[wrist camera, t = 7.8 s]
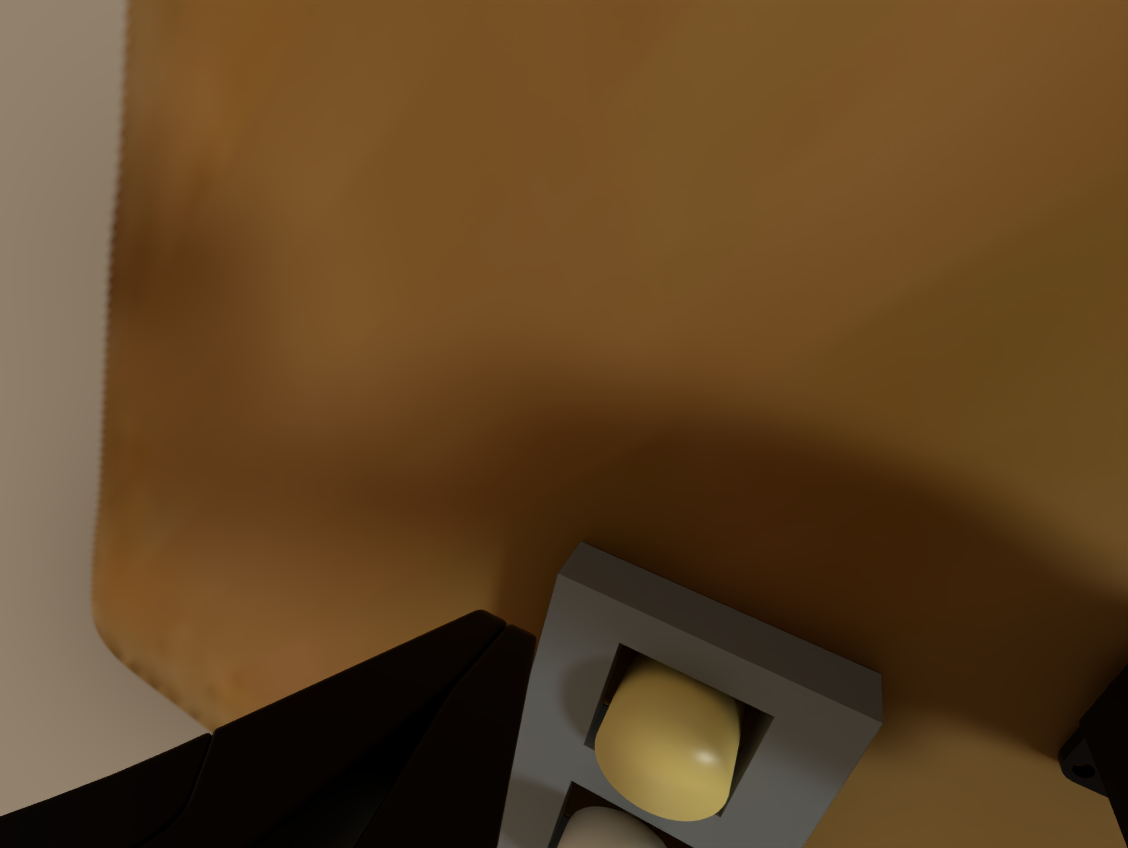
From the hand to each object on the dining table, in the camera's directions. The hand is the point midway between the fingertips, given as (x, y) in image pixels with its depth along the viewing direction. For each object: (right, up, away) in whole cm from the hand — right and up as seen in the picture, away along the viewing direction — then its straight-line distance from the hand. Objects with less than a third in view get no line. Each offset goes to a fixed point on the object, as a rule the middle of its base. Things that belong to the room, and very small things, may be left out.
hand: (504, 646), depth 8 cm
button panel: (+4, -12, +18) cm, 22 cm away
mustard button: (+5, -7, +14) cm, 16 cm away
